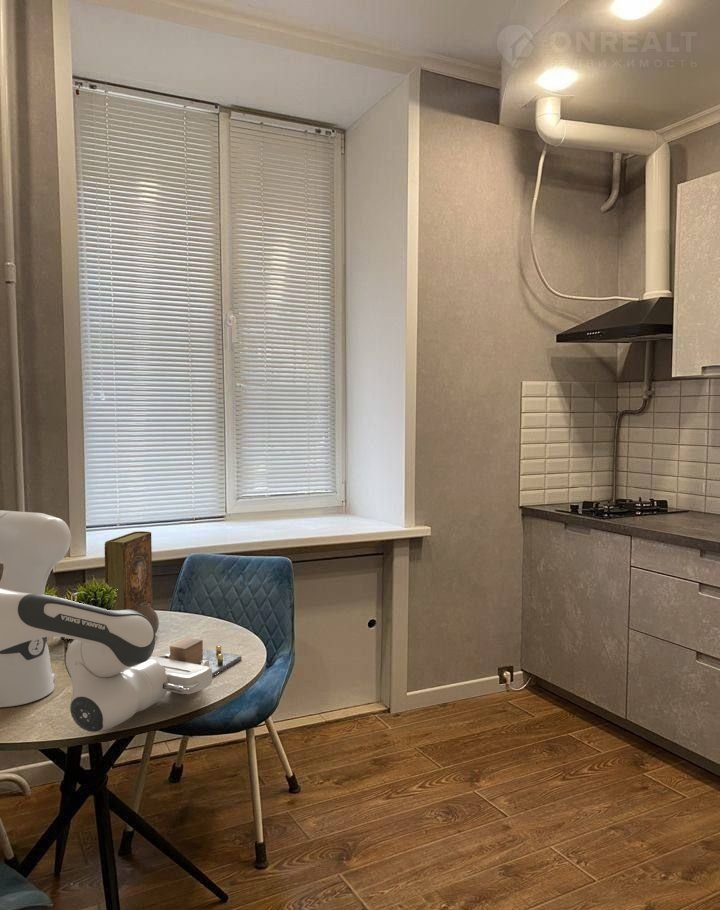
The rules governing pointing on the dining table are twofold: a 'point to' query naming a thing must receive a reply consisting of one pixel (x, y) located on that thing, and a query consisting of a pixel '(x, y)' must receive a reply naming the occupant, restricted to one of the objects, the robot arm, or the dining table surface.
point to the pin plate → (219, 659)
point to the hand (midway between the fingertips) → (188, 660)
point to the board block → (187, 651)
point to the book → (130, 569)
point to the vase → (149, 614)
